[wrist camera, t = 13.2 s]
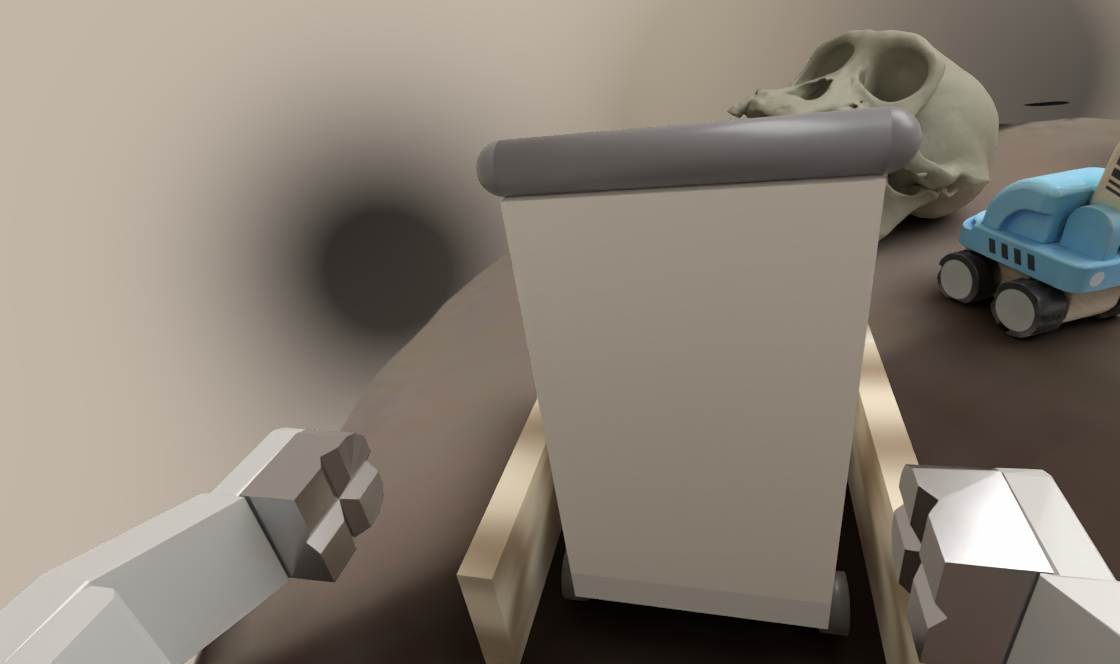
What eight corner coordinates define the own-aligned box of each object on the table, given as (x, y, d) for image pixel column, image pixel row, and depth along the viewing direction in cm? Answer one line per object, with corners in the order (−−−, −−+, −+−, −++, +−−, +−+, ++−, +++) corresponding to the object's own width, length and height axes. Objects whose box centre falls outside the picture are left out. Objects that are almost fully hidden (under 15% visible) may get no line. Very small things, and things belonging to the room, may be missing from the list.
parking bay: (948, 743, 22) (982, 642, 19) (486, 664, 27) (456, 574, 24) (857, 406, 38) (868, 324, 35) (582, 396, 43) (571, 323, 40)
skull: (820, 244, 77) (651, 174, 63) (915, 81, 70) (750, -38, 56) (948, 308, 62) (765, 234, 48) (1084, 110, 56) (917, -43, 42)
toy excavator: (1128, 403, 35) (1253, 95, 27) (923, 289, 50) (962, 65, 41) (1251, 371, 36) (1408, 63, 28) (1014, 268, 51) (1072, 45, 42)
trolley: (850, 673, 24) (944, 110, 14) (560, 629, 27) (456, 150, 17) (813, 441, 36) (849, 40, 25) (613, 430, 39) (570, 73, 28)
